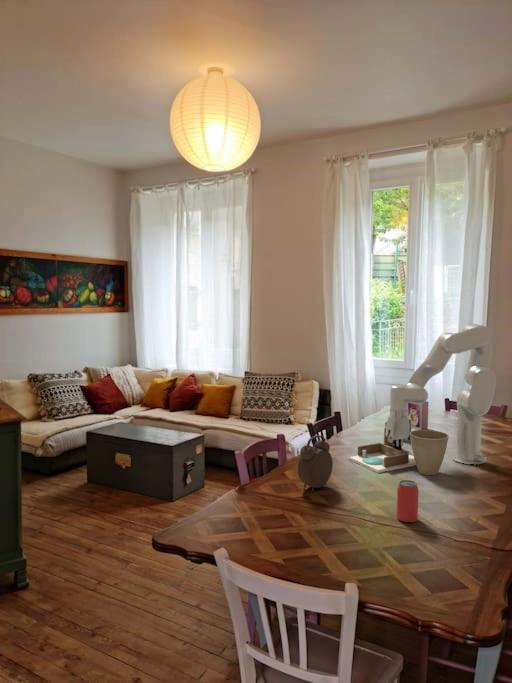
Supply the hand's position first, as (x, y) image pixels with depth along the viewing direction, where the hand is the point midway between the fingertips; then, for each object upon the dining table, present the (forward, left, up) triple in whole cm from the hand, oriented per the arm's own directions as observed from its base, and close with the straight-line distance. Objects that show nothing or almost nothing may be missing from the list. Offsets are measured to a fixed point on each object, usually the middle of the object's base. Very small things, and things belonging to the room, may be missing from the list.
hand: (397, 454), depth 223 cm
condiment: (+15, -10, -3) cm, 18 cm away
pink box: (+36, -48, -3) cm, 60 cm away
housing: (0, +9, -1) cm, 9 cm away
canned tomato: (+23, -25, -3) cm, 34 cm away
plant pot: (-18, 0, -3) cm, 18 cm away
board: (0, +6, -2) cm, 7 cm away
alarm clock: (-11, +51, -3) cm, 53 cm away
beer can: (-47, +39, -3) cm, 61 cm away
